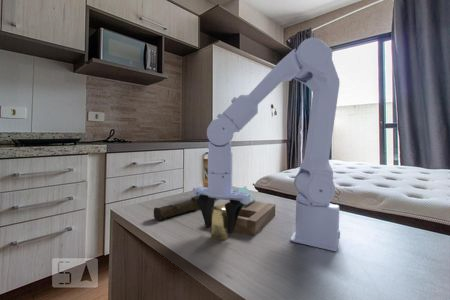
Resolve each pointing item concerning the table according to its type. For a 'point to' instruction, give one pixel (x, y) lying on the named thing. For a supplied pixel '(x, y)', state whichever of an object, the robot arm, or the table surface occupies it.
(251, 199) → the teal flat square block
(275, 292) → the table surface
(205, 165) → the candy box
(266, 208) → the block
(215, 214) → the peg
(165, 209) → the dark brown log
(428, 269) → the table surface
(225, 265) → the table surface
